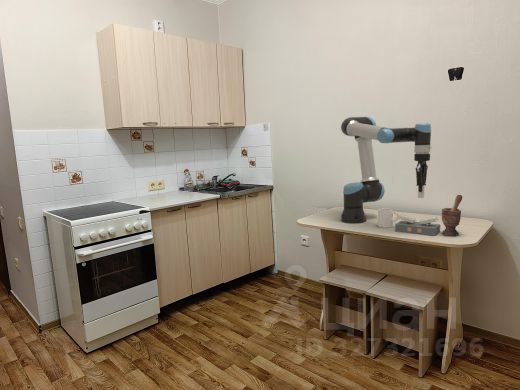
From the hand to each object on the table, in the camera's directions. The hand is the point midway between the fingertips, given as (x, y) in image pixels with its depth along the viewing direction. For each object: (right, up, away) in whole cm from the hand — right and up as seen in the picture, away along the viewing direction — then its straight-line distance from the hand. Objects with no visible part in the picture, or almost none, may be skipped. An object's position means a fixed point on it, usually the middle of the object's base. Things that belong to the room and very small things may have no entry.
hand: (420, 197), depth 194 cm
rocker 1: (-6, -11, +4) cm, 13 cm away
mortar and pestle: (+13, -19, -6) cm, 24 cm away
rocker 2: (+3, -12, -3) cm, 13 cm away
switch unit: (-1, -18, +1) cm, 18 cm away
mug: (-12, -17, +15) cm, 26 cm away
